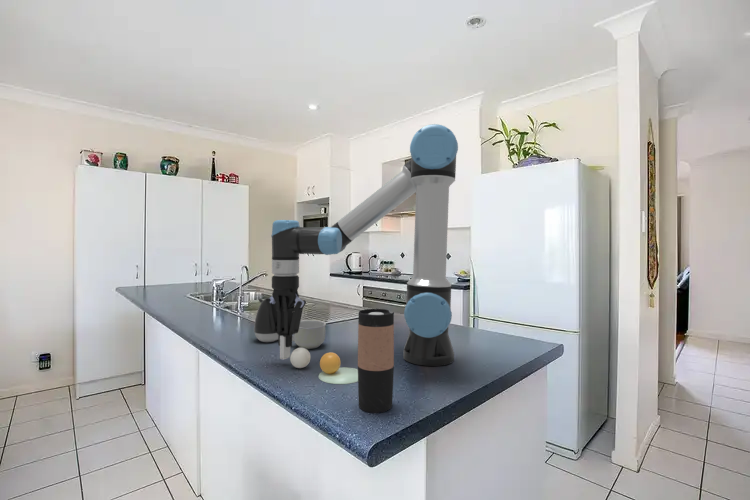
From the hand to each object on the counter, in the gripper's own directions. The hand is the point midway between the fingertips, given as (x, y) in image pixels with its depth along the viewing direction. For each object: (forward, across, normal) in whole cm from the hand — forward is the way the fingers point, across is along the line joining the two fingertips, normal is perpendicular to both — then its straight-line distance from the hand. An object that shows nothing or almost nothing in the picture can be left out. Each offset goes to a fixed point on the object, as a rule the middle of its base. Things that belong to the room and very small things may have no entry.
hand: (285, 357), depth 106 cm
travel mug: (+2, +35, -12) cm, 37 cm away
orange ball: (-1, +15, 0) cm, 15 cm away
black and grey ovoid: (+2, -23, +18) cm, 29 cm away
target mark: (+2, +19, 0) cm, 19 cm away
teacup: (+2, -7, +18) cm, 19 cm away
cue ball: (-1, +6, 0) cm, 6 cm away
